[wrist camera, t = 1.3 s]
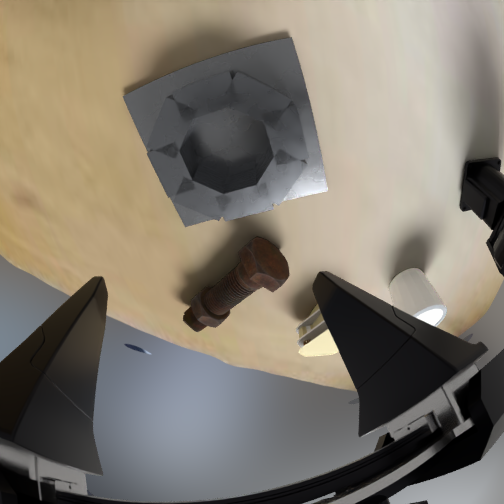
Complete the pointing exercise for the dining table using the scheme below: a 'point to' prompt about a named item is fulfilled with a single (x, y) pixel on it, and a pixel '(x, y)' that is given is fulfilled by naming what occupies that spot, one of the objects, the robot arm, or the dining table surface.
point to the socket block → (231, 133)
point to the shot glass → (417, 296)
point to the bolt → (238, 284)
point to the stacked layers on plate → (315, 336)
